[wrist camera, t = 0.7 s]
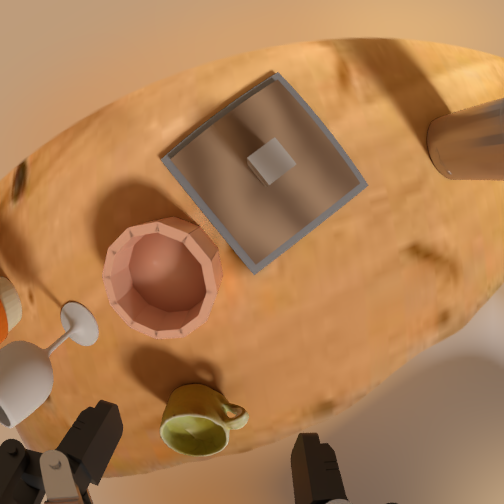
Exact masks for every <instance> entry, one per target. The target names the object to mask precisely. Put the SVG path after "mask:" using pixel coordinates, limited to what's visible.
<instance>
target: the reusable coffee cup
mask: <svg viewBox="0 0 504 504" xmlns="http://www.w3.org/2000/svg"><path fill="white" fill-rule="evenodd" d="M21 317H22V307H21V302H20V299H19V296H18V294H17V291H16V289H15V288H14V286H13V285H12V283H11V282H10V281H9V280H8V279H7V278H5V277H0V344H1V342H2V341H3V340H4V339H5V338H6V337H7V335H8V332H9V331H10V330H11V329H12V328H13V327H14V326H15V325H16V324H17V323H18V322H19V321H20V320H21Z"/></svg>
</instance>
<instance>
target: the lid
mask: <svg viewBox="0 0 504 504" xmlns="http://www.w3.org/2000/svg"><path fill="white" fill-rule="evenodd" d="M170 160H171V161H172V162H173V163H174V165H175V166H176V167H177V168H178V170H179V171H180V172H181V173H182V175H183V176H184V177H185V178H186V180H187V181H188V182H189V183H190V184H191V186H192V187H193V188H194V189H195V191H196V192H197V193H198V194H199V196H200V197H201V198H202V199H203V201H204V202H205V203H206V204H207V205H208V207H209V208H210V209H211V210H212V212H213V213H214V214H215V215H216V217H217V218H218V219H219V220H220V221H221V223H222V224H223V225H224V226H225V228H226V229H227V230H228V231H229V233H230V234H231V235H232V236H233V237H234V239H235V240H236V241H237V242H238V244H239V245H240V246H241V247H242V248H243V250H244V251H245V252H246V253H247V255H248V256H249V257H250V258H251V259H252V261H253V262H254V263H255V264H258V263H259V262H260V261H262V260H263V259H264V258H265V257H267V256H268V255H269V254H271V253H272V252H273V251H274V250H276V249H277V248H278V247H280V246H281V245H282V244H284V243H285V242H286V241H287V240H289V239H290V238H291V237H293V236H294V235H295V234H296V233H298V232H299V231H300V230H302V229H303V228H304V227H305V226H307V225H308V224H309V223H310V222H312V221H313V220H314V219H316V218H317V217H318V216H319V215H321V214H322V213H323V212H325V211H326V210H327V209H328V208H330V207H331V206H332V205H333V204H335V203H336V202H337V201H338V200H340V199H341V198H342V197H344V196H345V195H346V194H347V193H349V192H350V191H351V190H352V189H354V188H355V187H356V186H357V185H359V184H360V182H359V180H358V179H357V177H356V176H355V174H354V173H353V172H352V170H351V169H350V167H349V166H348V164H347V163H346V162H345V160H344V159H343V158H342V156H341V155H340V153H339V152H338V151H337V149H336V148H335V147H334V145H333V144H332V143H331V141H330V140H329V139H328V138H327V136H326V135H325V134H324V132H323V131H322V130H321V129H320V127H319V126H318V125H317V124H316V123H315V121H314V120H313V119H312V118H311V116H310V115H309V114H308V113H307V112H306V110H305V109H304V108H303V107H302V106H301V105H300V104H299V102H298V101H297V100H296V99H295V98H294V97H293V96H292V94H291V93H290V92H289V91H288V90H287V89H286V88H285V87H284V86H283V85H282V84H281V82H280V81H279V80H278V79H277V80H276V81H274V82H273V83H271V84H270V85H268V86H266V87H265V88H263V89H262V90H260V91H259V92H257V93H256V94H254V95H253V96H251V97H250V98H248V99H247V100H246V101H244V102H243V103H241V104H240V105H238V106H237V107H236V108H234V109H233V110H231V111H230V112H229V113H227V114H226V115H225V116H223V117H222V118H221V119H219V120H218V121H217V122H215V123H214V124H213V125H211V126H210V127H209V128H208V129H206V130H205V131H204V132H203V133H201V134H200V135H199V136H198V137H196V138H195V139H194V140H193V141H191V142H190V143H189V144H188V145H187V146H185V147H184V148H183V149H182V150H181V151H179V152H178V153H177V154H176V155H175V156H174V157H172V158H171V159H170Z"/></svg>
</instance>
